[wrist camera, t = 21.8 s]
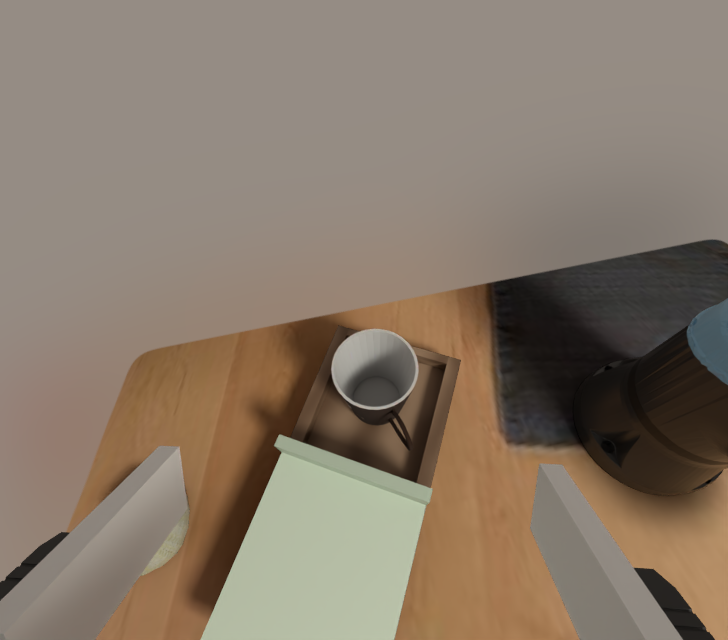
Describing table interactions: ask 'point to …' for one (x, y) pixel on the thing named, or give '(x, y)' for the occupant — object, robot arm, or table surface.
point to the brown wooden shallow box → (381, 443)
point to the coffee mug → (376, 377)
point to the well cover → (322, 552)
